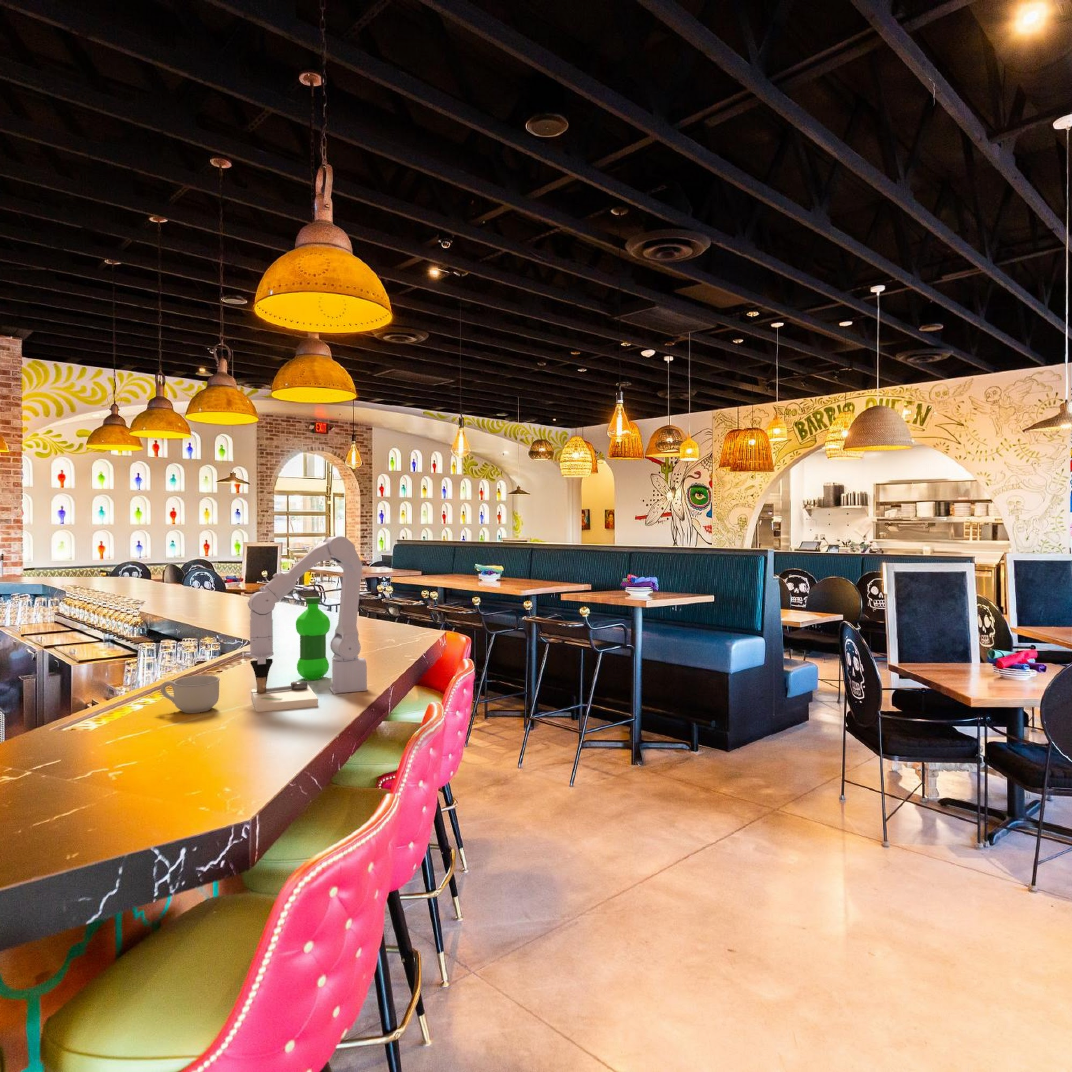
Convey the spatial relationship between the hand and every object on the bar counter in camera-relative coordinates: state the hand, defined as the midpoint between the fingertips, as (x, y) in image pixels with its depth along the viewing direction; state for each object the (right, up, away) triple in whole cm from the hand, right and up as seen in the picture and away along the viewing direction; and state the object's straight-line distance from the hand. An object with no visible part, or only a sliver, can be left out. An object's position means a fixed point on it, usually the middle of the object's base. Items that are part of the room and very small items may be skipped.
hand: (261, 686), depth 198 cm
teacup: (-13, -4, -13) cm, 19 cm away
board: (+7, -3, -3) cm, 8 cm away
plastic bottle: (+5, -4, +29) cm, 30 cm away
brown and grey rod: (+5, -1, +1) cm, 5 cm away
